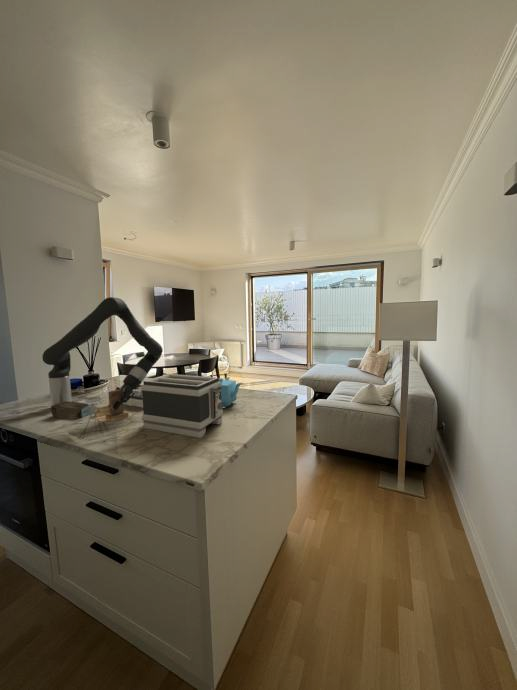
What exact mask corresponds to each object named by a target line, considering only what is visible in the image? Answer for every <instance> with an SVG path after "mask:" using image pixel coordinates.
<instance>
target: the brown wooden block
mask: <svg viewBox="0 0 517 690" xmlns="http://www.w3.org/2000/svg"><path fill="white" fill-rule="evenodd" d="M107 393H108V404H109V407H110V417H112V416H116V415H119V414H123V413H124V412H125V411H124V404H123V403H122V404H121V405H120V406H119V408H118V409H117V410H115V409H113V408H112V407H113V406H114V405H115V403H116V402H117V401H118V399H119V398H120V394H121V393H122V390H116V389H115V390H110V391H108V392H107Z"/></svg>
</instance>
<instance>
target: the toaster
mask: <svg viewBox="0 0 517 690" xmlns="http://www.w3.org/2000/svg"><path fill="white" fill-rule="evenodd" d="M219 378H220V377H216V376H200V375H187V374H177V373H176V374H175V373H167V374H164V375H161V376H156V377H154V378H153V377H152V378H149V379H147V380H143V381H142V383H143V384H141V385H142V386H141V390H142V398H143V408H142V410H143V411H142V412H143V413H142V415H141V420H142V421H143V428H144V429H147V430H151V431H152V430H153V431H158V432H163V433H169V434H173V435H174V434H175V435H181V436H187V437H191V438H198V439H201V438H202V437H204V436H205V433H206V431H207V430H206V428H207V426H209V425H210V424H212V423H213V425H221V424H222V423H223V415H224V411H223V409H224V408H223V403H222V402H221V386H222V383H221V382H220V381H219ZM220 423H221V424H220Z"/></svg>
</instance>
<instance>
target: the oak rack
mask: <svg viewBox="0 0 517 690" xmlns="http://www.w3.org/2000/svg"><path fill="white" fill-rule="evenodd" d="M108 405H109V403H108V404H105V405H101V406H100V405H99V406H97V411H96V410H95V412H94V415H92V416H91V415H90V417H91V418H93V419H94V420H98V421H100V422H101V423H104V424H106V425H108V424H111V423H114V422H117V421H121V420H124V419H128V418H131V417H134V416H135V415H134V414H133V413H132V414H131V413H129V412H127V411H124V413H123V414H119V415H116V416H112V417H110V407H108Z"/></svg>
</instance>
